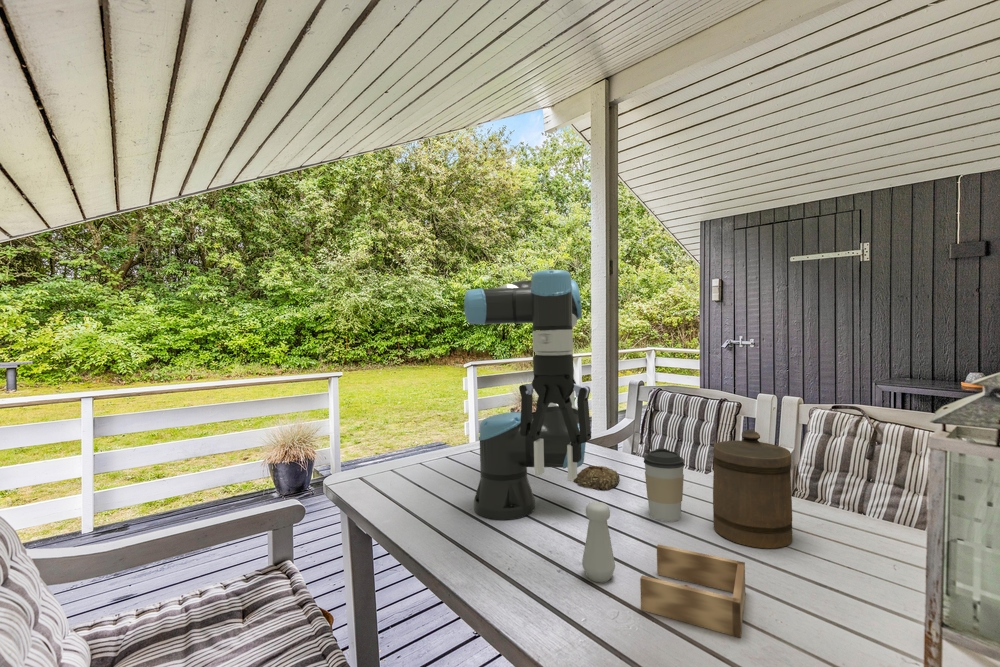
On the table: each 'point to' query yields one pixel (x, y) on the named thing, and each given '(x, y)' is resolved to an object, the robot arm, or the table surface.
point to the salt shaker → (598, 544)
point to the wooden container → (752, 492)
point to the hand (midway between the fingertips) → (555, 476)
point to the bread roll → (597, 478)
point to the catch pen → (696, 590)
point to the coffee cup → (664, 484)
